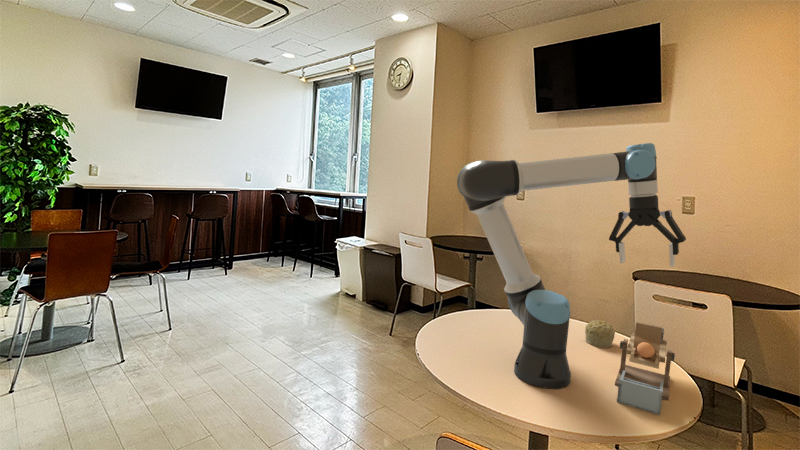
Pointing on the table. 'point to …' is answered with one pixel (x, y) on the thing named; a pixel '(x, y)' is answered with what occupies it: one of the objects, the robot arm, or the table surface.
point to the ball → (645, 350)
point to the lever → (652, 337)
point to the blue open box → (640, 395)
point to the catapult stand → (646, 372)
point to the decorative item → (599, 333)
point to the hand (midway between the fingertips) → (646, 263)
